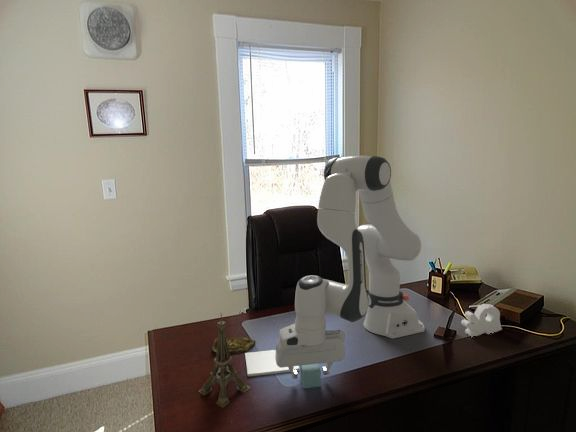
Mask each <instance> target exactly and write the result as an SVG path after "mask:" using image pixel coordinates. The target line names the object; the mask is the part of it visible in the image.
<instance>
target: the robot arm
mask: <svg viewBox="0 0 576 432" xmlns="http://www.w3.org/2000/svg"><path fill="white" fill-rule="evenodd" d="M323 177H324V181H323V182H324V183H323V184H322V189H321V192H320V196H319V200H318V201H319V202H318V206H317V214H316V215H317V217H316V222H317V223H316V224H317V227H318V228H317V229H319V231H320V232H321V234H322V235H323V236H324V237H325V238H326V239H327V240H329V241H331V242H332V243H333V244H336V245H337V246H338V247H339V248H341V249H342V250H343V252H344V253H345V255H346V258H347V273H348V274H347V275H348V276H347V277H348V284H346V283H341V282H337V281H334V280H329V279H326V278H325V279H324V278H322V277H321V276H319V275H314V274H312V275H311V274H310V275H305V276H303V277H301V278H299V280H298V281H297V284H296V289H295V296H294V297H295V298H294V311H295V314H296V315H295V316H296V317H295V320H294V323H292V324H290V325H288V326H285V327H283V328H280V329H279V331H278V332H279V333H278V334H279V338H278V340H277V342H276V346H275V350H276V355H275V359H276V364H277V365H278V367H280V368H282V367H288V368H289V370H290V372H289V373H291V379H292V380H295V379H298V371H296V370H293V369H294V366H299V367H300V365H309V364H318V365H319V364H325V366H322V374H323V376H329V375H330V370H331V368H332V367H333V364H334V363H336V362H343V360H344V359H345V357H346V351H345V345H344V343H345V341H346V335H345V332H344V331H343V330H341V329H334V330H331V329H330V330H327V321H326V317H325V315H326V314H329V315H330V316H331V315H332V316H335V317H339V318H341V319H342V320H345V321H348V322H350V323H355V322H357V321H359V320H361V319H363V318H364V317H365V318H364V321H363V328H364V329H365V330H367V331H369V332H370V333H373V334H375V335H379V336H383V337H384V336H385V337H387V338H390V339H397V338H401V337H407V336H410V335H414V334H419V333H424V332H425V330H426V329H425V325H424V323H423V322H422V321H421V320H420V319H419V315H418V312H417V311H416V310H415V309H414V308H413V307H412V305H409V303H407V302H408V301H409V299H410V297H409V295H407V294H406V293H404V292H402V291H401V290H400V289H401V288H400V286H401V285H400V284H401V274H400V271H399V269H398V268H397V267H396V266H395V265H394V263H393V262H392V261H391V259H392V260H396V261H404V262H405V261H414V260H415V259H416V258H417V257H418V256H419V254H420V252H421V250H422V241H421V239H420V237H419V235H418V234H417V233H415V232H414V231H413V230H411V229H410V228H409V227H408V226H407V225H406V223H405V222H404V220H403V219H402V218H401V215H400V214H399V212H398V210H397V207H396V202H395V197H394V194H393V189H392V184H391V177H392V168H391V165H390V163H389V162H388V161H387V159H385V158H384V157H382V156H378V155H373V156H370V155H353V156H344V157H342V156H338V157H334V158H331V159H329V160H328V161H327V163H326V164H325V165H324V169H323ZM357 192H358V194H359V198H360V199H359V200H360V204H361V208H362V211H363V216H364V218H365V220H366V222H368V223H369V224H361V225H360V226H359V227H357V224H356V219H355V217H356V216H355V215H356V214H355V213H356V205H357V204H356V203H357V200H356V199H357V197H356V196H357V194H356V193H357ZM366 265H367V268H368V281H369V282H368V290H367V278H366V277H367V276H366Z"/></svg>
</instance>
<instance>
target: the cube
mask: <svg viewBox="0 0 576 432" xmlns="http://www.w3.org/2000/svg"><path fill="white" fill-rule="evenodd" d="M299 369H300V371H299V378H300V381H301V384H302V387H303V389H310V388H317V387H318V388H319V387H321V386H322V383H321V381H322V379H321V378H322V375H321V374H322V371H321V368H320V366H319V363H318V364H309V365H300V366H299Z"/></svg>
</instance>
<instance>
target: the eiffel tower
mask: <svg viewBox="0 0 576 432" xmlns="http://www.w3.org/2000/svg"><path fill="white" fill-rule="evenodd" d="M222 316H223V315H222V313H220V321H218V322H217V323H216V327H217V328H218V333H217V338H218V345H217V353H216V354H215V355H216V356H215V358H214V359H213V362H214V367H213V370H212V372H210V377H208V380H206V382H205V383H204V384H203V385H202V387H201V388H200V389H199V390H197V392H198V393H199V394H201V395H202V396H206V395H207V394H209V393H211V392H212V391H213V390H212V388H213V386H214V384H215V383H217V384H218V385H219V386H220V389H219V395H218V399H217V400H216V402H215V404H216V405H217V406H220V408H224V407H226V406H228V404H230V403H231V401H230V399H229V397H228V392H227V387H226V386H227V385H228V384H229V383H230V382H234V384H235V385H236V389H237V391H239V392H241V393H243V394H244V393H246V392H247V391H249V390H250V389H251V387H250V386H249V385H247V384H246V382H245V381H244V380H243V379H242V378H241V377H240V376H239V375H238V374H237V372H238V371H237V370H235V368H234V366H233V363H232V361H233V357H232V356H230V355H231V354H229V350H228V344H227V339H228V338H227V334H226V333H227V332H226V329H225V328H226V327H228V325H227V322H226V321H224V320H223V317H222Z"/></svg>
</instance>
